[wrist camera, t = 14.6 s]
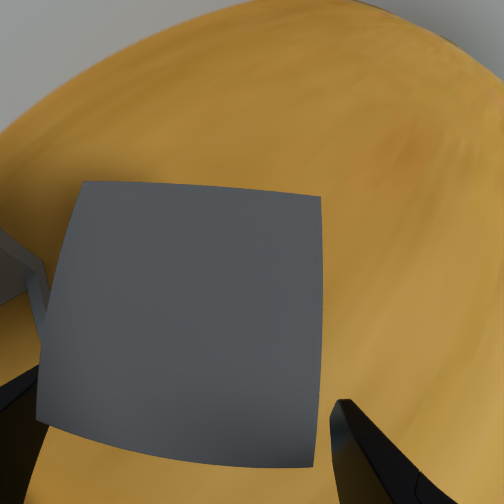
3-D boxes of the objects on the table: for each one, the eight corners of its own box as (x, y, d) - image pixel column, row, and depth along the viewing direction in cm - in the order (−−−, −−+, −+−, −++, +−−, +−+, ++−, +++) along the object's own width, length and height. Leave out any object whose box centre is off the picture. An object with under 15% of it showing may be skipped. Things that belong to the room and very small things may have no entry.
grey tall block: (259, 403, 17) (312, 467, 5) (160, 393, 17) (36, 419, 5) (265, 308, 19) (321, 196, 7) (171, 299, 19) (83, 181, 7)
